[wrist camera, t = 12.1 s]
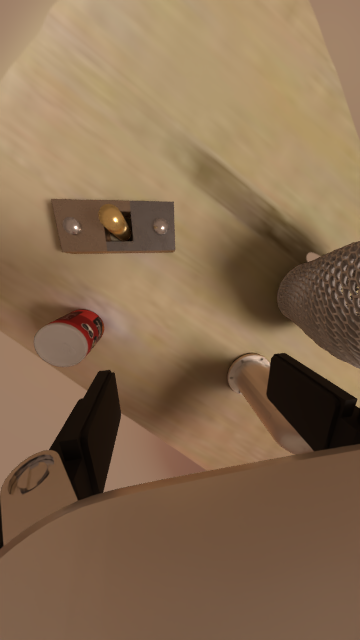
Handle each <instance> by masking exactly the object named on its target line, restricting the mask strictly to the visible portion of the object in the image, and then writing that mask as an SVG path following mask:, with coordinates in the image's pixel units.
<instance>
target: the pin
mask: <svg viewBox="0 0 360 640" xmlns="http://www.w3.org/2000/svg"><path fill="white" fill-rule="evenodd" d="M98 216H99V220H100V222H101V224H102V225H103V226H104V227H105V228H107V229H108V230H109V231H110V232H111V233H112V234H114V235H115V236H116V237H117V238H118V239H120V240H122V241H125V240H128V239H129V238H130V236H131V229H130V227H129V226H128V224H127V222H126V221H125V219H124V217H123V215H122V214H121V212H120V210H119V209H118V208H117V207H116V206H114V205H112V204H105V205H103V206H102V207H101V208H100V210H99V213H98Z"/></svg>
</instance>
